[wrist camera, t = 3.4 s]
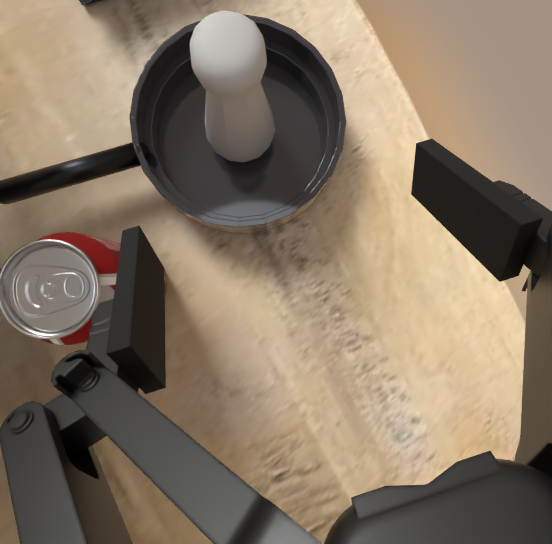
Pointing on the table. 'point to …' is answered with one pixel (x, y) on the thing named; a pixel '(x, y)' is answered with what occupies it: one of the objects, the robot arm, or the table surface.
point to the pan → (229, 174)
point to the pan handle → (71, 172)
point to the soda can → (58, 286)
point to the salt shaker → (233, 85)
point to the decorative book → (85, 1)
